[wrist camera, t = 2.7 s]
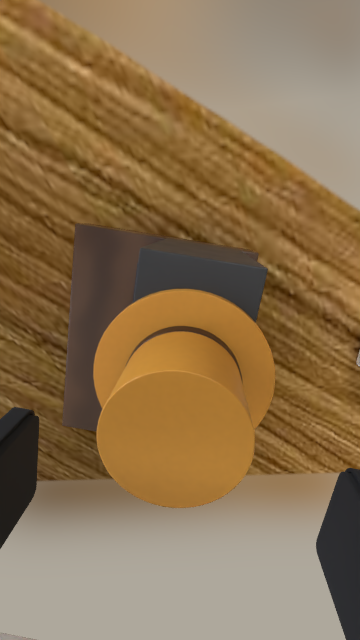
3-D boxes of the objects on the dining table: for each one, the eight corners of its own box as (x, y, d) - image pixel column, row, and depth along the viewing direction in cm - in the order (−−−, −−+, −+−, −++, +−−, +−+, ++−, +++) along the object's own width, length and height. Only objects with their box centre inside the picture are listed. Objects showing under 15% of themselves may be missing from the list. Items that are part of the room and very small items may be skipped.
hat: (89, 435, 19) (44, 521, 13) (104, 274, 16) (55, 298, 11) (252, 464, 18) (272, 563, 13) (292, 305, 16) (338, 346, 11)
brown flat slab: (76, 404, 36) (61, 425, 33) (90, 223, 31) (75, 223, 27) (214, 428, 36) (215, 452, 32) (252, 249, 31) (258, 252, 27)
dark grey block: (146, 372, 30) (111, 462, 19) (164, 237, 27) (136, 247, 16) (213, 384, 30) (219, 481, 19) (240, 250, 27) (268, 268, 16)
